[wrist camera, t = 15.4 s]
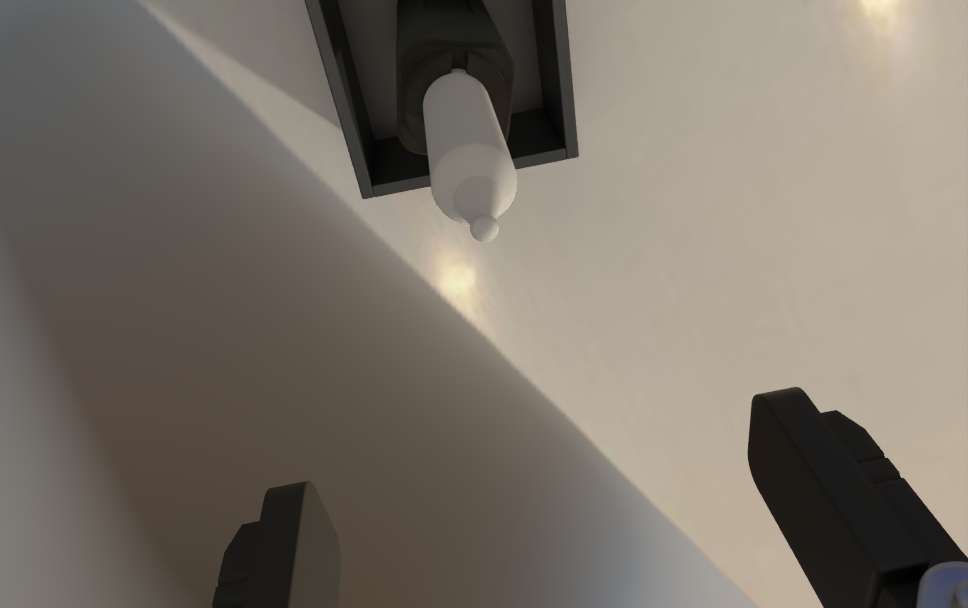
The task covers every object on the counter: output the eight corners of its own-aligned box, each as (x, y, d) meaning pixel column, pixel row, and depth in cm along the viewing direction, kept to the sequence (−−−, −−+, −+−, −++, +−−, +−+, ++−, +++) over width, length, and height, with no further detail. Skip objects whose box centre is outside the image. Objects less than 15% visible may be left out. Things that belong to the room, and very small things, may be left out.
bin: (367, 148, 45) (362, 199, 39) (309, -62, 38) (292, -42, 31) (553, 111, 45) (579, 157, 39) (530, -106, 38) (557, -94, 31)
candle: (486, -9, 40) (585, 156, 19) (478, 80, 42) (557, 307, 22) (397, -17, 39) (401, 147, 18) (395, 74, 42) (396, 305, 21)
